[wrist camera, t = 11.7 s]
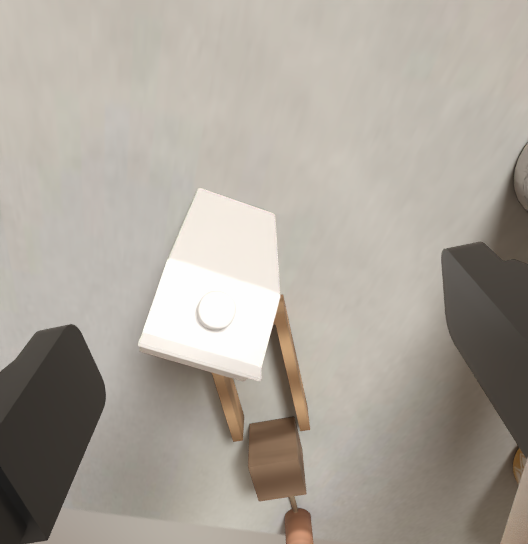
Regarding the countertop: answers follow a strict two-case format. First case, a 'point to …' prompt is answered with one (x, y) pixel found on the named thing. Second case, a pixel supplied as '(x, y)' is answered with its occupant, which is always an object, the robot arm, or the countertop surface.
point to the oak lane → (289, 355)
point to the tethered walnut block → (280, 472)
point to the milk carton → (217, 290)
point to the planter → (519, 465)
